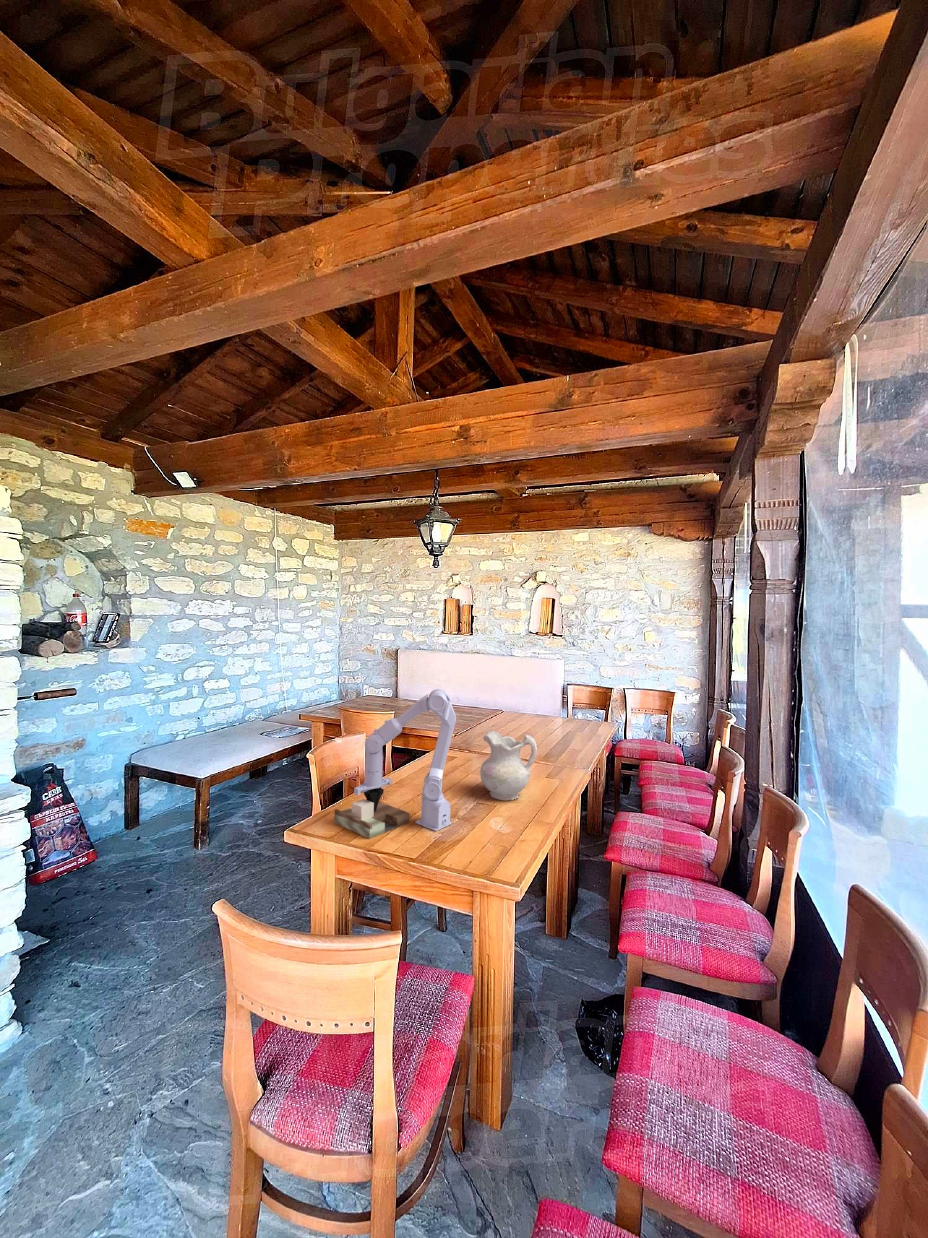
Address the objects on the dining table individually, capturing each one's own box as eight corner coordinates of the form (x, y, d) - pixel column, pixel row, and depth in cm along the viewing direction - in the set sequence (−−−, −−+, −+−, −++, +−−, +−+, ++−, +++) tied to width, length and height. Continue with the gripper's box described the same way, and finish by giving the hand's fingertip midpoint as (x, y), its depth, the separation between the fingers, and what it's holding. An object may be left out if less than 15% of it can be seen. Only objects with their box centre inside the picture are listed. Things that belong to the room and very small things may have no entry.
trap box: (409, 822, 163) (409, 809, 163) (369, 839, 150) (370, 825, 150) (373, 808, 174) (374, 796, 174) (334, 822, 161) (334, 809, 161)
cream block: (373, 816, 159) (373, 802, 159) (361, 821, 155) (361, 807, 155) (363, 812, 162) (363, 799, 162) (351, 817, 159) (351, 803, 159)
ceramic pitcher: (534, 792, 198) (535, 730, 200) (536, 806, 179) (538, 737, 181) (481, 789, 200) (482, 727, 202) (478, 803, 181) (479, 734, 183)
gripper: (382, 763, 170) (381, 802, 170) (348, 772, 159) (347, 814, 159) (396, 767, 166) (395, 807, 166) (362, 777, 155) (361, 820, 155)
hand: (372, 811), depth 162 cm, fingers closed
